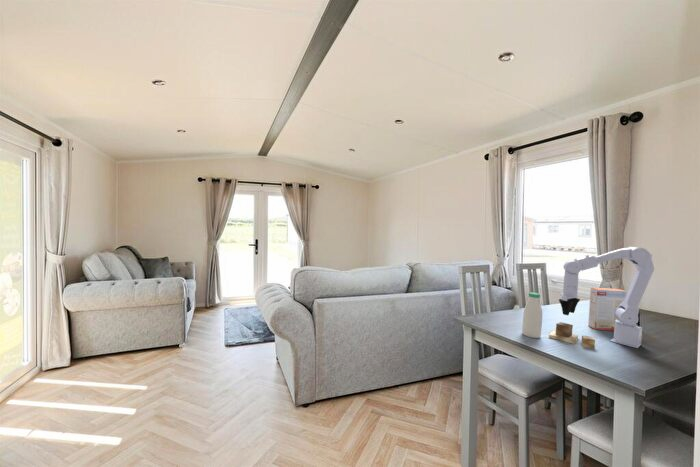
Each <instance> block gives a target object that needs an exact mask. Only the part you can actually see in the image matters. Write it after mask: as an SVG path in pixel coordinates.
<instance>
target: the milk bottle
mask: <svg viewBox="0 0 700 467" xmlns="http://www.w3.org/2000/svg"><path fill="white" fill-rule="evenodd" d="M540 298H541V294H540V293H538V292H532V291H531V292H529V293H528V299H527V303H526V304H525V306H524V309H523V316H522V329H521V330H522V331H521V332H522V335H523V336H525V337H528V338H532V339H541V336H542V329H543V328H542V324H543V309H542V305H541V304H540V300H541V299H540Z"/></svg>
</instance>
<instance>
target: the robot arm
mask: <svg viewBox="0 0 700 467" xmlns="http://www.w3.org/2000/svg"><path fill="white" fill-rule="evenodd" d="M652 258H653V255H652V254H651V252H650V251H649V250H647V249H646V248H644V247H637V246H628V247H623V248H619V249H615V250H612V251H609V252H605V253H603V254H600V255H597V256H596V255H593V254H590V255H589V254H586V255H584V257H579V258H574V259H573V260H568V261H566V262H564V264H563V266H562V267H563V269H564V275H563V289H562V292H560V293H559V295H560V296H562V297H561V298H558V302H559V303H560V307H561V312H562V315H564V316H569V315H570V313H572V314H575V310H576V309H577V306H578V305H579V304H578V303H579V302H580V300H581V299H580V298H578V287H579V273H580V272H581V271H582V272H583V271H587V270H590V269H593V268H597V267H598V266H599V264H600V263H605V262H609V261H612V260H616V259H617V260H618V259H625V260H628V261H630V262H632V264H633V265H634V266H635V267H636V272H635V273H634V276H633V279H632V281H631V283H630V286H629V288H628V290H627V291H626V297H625V299H624V301H623V302H622V303H620V305H619V307H618V308H616V309H615V311H614V315H615V317H616V318H617V319H616V320H615V328H614V331H613V338H611V339H610V342H612V343H615V344H620V345H625V346H628V347H631V348H636V349H639V347H640V346H641V345H642V338H643V327H642V326H639V325H637V323H638V322H639V313H640V309H639V305H640V303H641V301H642V298H643V297H644V296H643V295H644V294H645V292H646V290H647V287H648V284H649V282H650V280H651V278H652V276H653V273H654V270H655V266H654V262H653V259H652Z"/></svg>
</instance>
